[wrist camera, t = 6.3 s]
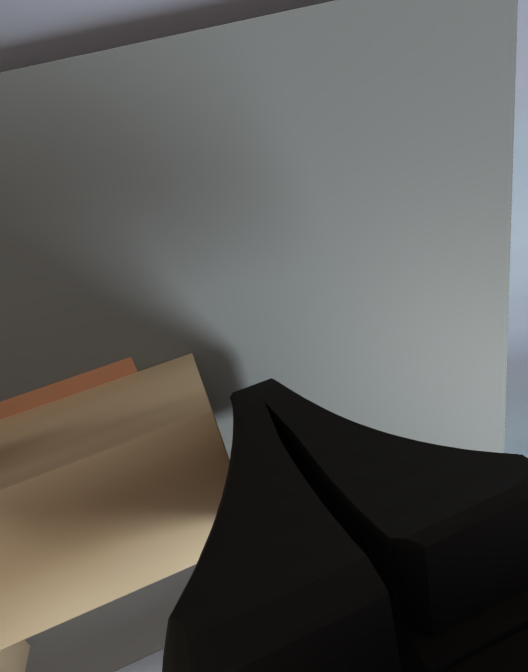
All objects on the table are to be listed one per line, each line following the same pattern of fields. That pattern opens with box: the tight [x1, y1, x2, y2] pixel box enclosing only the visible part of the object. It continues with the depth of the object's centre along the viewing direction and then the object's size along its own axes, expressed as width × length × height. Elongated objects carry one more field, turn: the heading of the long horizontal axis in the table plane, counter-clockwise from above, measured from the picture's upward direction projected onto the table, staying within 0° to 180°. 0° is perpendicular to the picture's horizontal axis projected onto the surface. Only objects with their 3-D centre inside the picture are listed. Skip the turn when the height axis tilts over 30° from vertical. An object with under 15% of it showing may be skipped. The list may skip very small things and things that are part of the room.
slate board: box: [0, 0, 518, 672], centre depth 12 cm, size 18×26×1 cm
